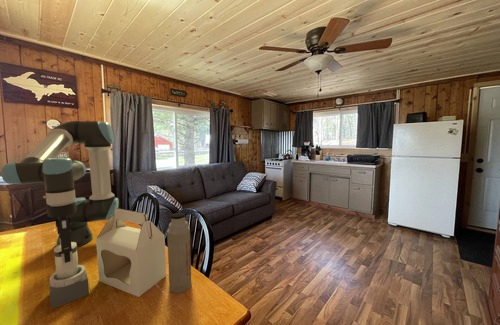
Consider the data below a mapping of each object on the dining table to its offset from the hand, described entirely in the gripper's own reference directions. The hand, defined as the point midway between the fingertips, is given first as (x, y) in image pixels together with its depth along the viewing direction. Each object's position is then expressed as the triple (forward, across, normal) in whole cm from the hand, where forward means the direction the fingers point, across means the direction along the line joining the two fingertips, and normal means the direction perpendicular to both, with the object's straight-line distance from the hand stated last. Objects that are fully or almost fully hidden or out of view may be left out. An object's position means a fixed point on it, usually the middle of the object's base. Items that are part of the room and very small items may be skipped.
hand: (67, 261), depth 76 cm
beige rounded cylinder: (+6, 0, 0) cm, 6 cm away
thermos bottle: (+12, +23, +31) cm, 41 cm away
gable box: (+12, +6, +19) cm, 24 cm away
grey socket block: (+12, 0, 0) cm, 12 cm away
